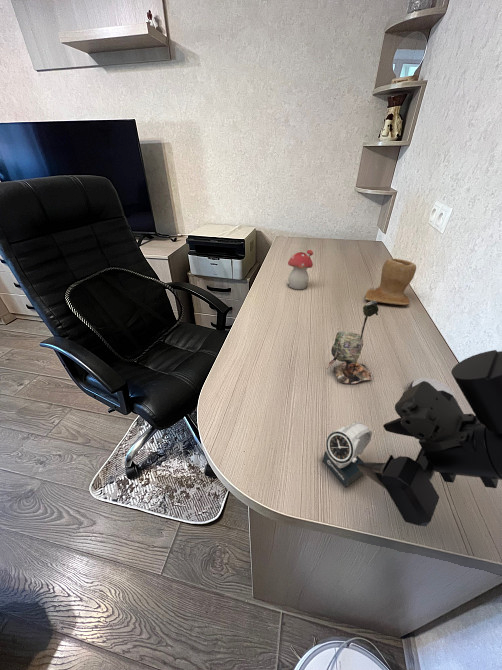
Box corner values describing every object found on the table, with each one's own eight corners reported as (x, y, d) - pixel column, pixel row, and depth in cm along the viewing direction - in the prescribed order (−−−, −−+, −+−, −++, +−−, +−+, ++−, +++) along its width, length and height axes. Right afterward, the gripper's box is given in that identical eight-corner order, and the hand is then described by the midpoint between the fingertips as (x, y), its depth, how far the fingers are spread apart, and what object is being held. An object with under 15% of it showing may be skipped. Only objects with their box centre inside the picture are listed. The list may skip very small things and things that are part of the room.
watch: (314, 466, 50) (323, 428, 44) (346, 445, 54) (358, 408, 47) (337, 494, 46) (350, 457, 40) (369, 470, 50) (386, 432, 43)
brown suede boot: (404, 295, 106) (418, 256, 97) (409, 310, 96) (425, 269, 88) (363, 290, 109) (372, 252, 101) (363, 304, 100) (374, 264, 91)
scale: (460, 414, 60) (466, 406, 58) (419, 414, 60) (423, 406, 58) (437, 384, 67) (442, 376, 66) (400, 384, 67) (404, 376, 66)
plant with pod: (323, 360, 74) (337, 293, 63) (368, 366, 72) (390, 297, 61) (324, 382, 68) (339, 311, 56) (373, 388, 66) (399, 316, 54)
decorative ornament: (311, 285, 113) (316, 248, 104) (307, 292, 108) (312, 254, 99) (289, 281, 116) (292, 245, 107) (284, 288, 111) (287, 250, 102)
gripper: (478, 347, 35) (372, 370, 48) (435, 442, 24) (311, 440, 37) (522, 422, 35) (404, 426, 48) (499, 551, 24) (354, 511, 37)
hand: (372, 446), depth 42 cm, fingers open, 9 cm apart
